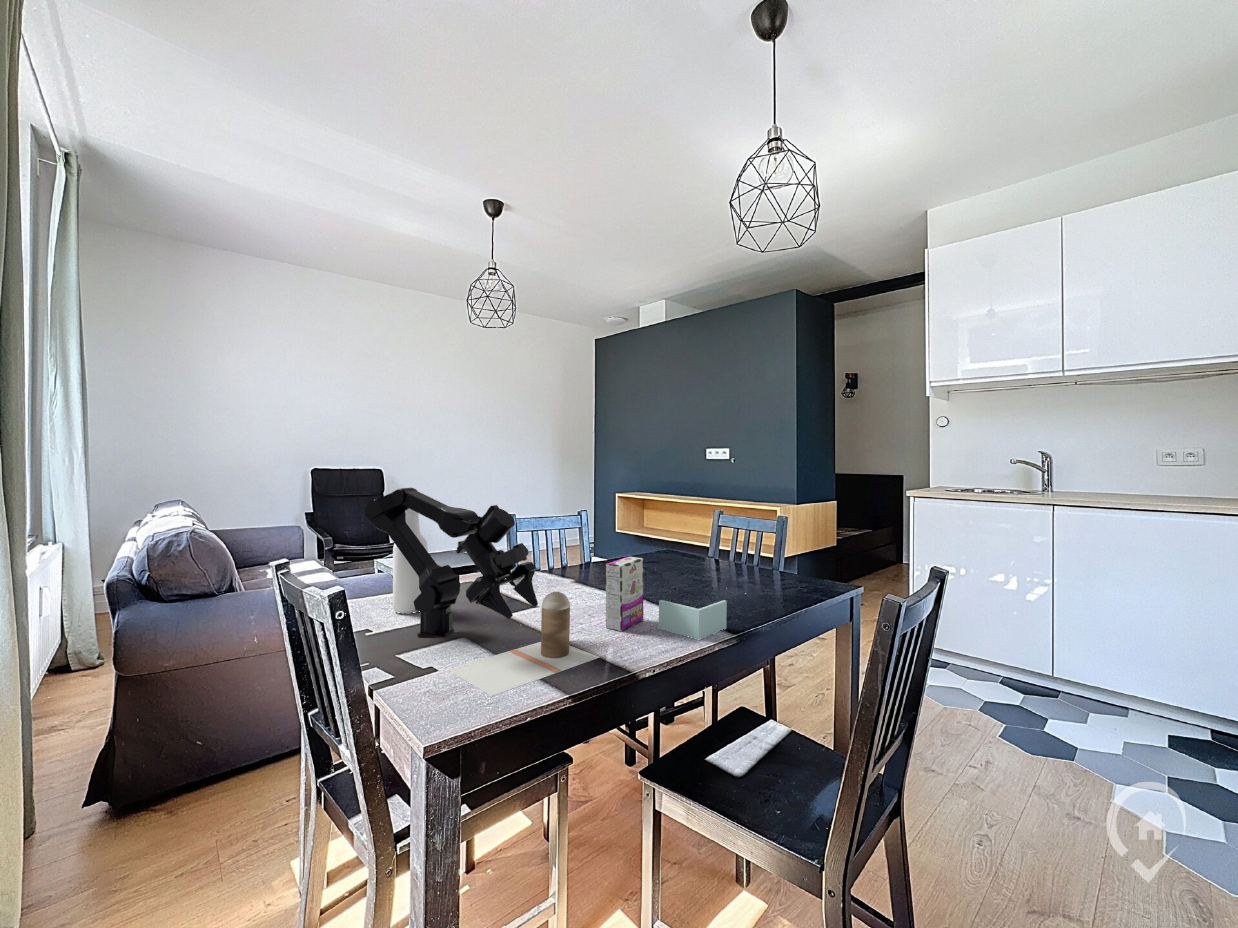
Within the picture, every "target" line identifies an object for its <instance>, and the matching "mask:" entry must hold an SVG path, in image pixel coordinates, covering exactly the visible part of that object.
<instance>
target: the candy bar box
mask: <svg viewBox="0 0 1238 928" xmlns="http://www.w3.org/2000/svg"><path fill="white" fill-rule="evenodd" d="M643 620H644V558H642V557H637V556H626V557H623V558H620V559H618V560H613V561H611V562H610V561H609V562H607V563H606V564H605V628H606V629H608V630H609V631H610V630H612V631H618V632H624V631H625V630H628V629H629V628H631V627H633V626H635V625H637V624H638V623H641V622H643Z"/></svg>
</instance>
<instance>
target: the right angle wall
mask: <svg viewBox="0 0 1238 928" xmlns="http://www.w3.org/2000/svg"><path fill="white" fill-rule="evenodd" d="M727 604H728V600H724V599H723V600H720V601H717V602H714V603H711V604H709V605H706V606H704V607H699V608H696V607H692V606H687V605H683V604H680V603H677V602H676V603H675V602H671V601H668V600H663V599H660V600H658V630H662V631H665V630H667V631H666V632H668V631H669V633H672V632H674V633H673V634H675V633H676V635H679V634H681V635H680V636H682V635H684V636H683V637H686V636H689V637H692V638H696V639H700V638H703V639H705V638H706V637H705V636H708V637H710V636H711V635H710V634H713V633H715V632H717V633H719V632H718V631H720V630H722V631H724V630H727V615H728V613H727V612H728V611H727V608H728V607H727ZM723 629H724V630H723ZM720 632H721V631H720ZM715 634H716V633H715ZM709 635H710V636H709ZM713 635H714V634H713ZM689 637H688V638H689ZM704 637H705V638H704ZM692 638H691V639H692ZM696 639H695V640H696Z"/></svg>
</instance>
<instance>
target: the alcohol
mask: <svg viewBox="0 0 1238 928" xmlns="http://www.w3.org/2000/svg"><path fill="white" fill-rule="evenodd" d="M405 512H406V523H407V525H408V526H409V527H410V529H411V530H412V531H413V533H414V534H415V535H416V537H417V538H418V539H419V541H420V542H421V544H422V545H423V546H424V548H425V549H426V550H427V552H428V551H429V550H428V549H429V547H428V541H427V539H425V537H424V536H423V535H422V532H421V529H420V518H419V515H420V514H419V513H417V512H415V511H413V510H411V509H408V510H406V511H405ZM428 553H429V552H428ZM420 594H421V591H420V589H419V577H418V575H417V574H416V572H415V571H414V569H413V568H412V567H411V565H410V564H409V562H408V561H407V560H406V558H405V557H404V556H403V554H402V553H401V551H400V550H399V549H398V547H397V546H396V544H395V543H394V542H393V548H392V609H393V611H394V612H395V613H396V612H400V613H413V612H419V611H417V610H415V606H414V600H415V599H416V598H417V597H418V596H419V595H420ZM419 613H420V612H419Z"/></svg>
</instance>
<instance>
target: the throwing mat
mask: <svg viewBox="0 0 1238 928" xmlns="http://www.w3.org/2000/svg"><path fill="white" fill-rule="evenodd" d="M598 658H599V659H600V658H601V657H600V656H599V655H595V654H592V653H590V652H588V651H585V650H582V649H580V648H577V647H575V646H573V645H570V644H569V654H568V655H567V656H565V657H561V658H548V657H544V656H542V655H541V641H537V642H536V643H532V644H528V645H525V646H521V647H518V648H514V649H511V650H508V651H505V652H501V653H498V654H494V655H492V656H488V657H484V658H481V659H479V660H475V661H471V662H468V663H465V664H461V665H458V666H455V667H451V668H448V669H446V670H447V671H448V672H450V673H452V674H453V675H455V676H457V677H458V678H460V679H462V680H463V681H465V682H467V683H469V684H471V686H474V687H476V688H477V689H478V690H481V691H482V692H484V693H485V694H487V695H489V696H490V697H494V696H496V695H499V694H502V693H504V692H508V691H509V690H510V691H511V690H514V689H515V688H518V687H521V686H524V685H527V684H529V683H532V682H535V681H538V680H541V679H543V678H545V677H550V676H553V675H554V674H558V673H560V672H563V671H567V670H569V669H572V668H575V667H577V666H579V665H582V664H585V663H588V662H591V661H594V660H596V659H598Z"/></svg>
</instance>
